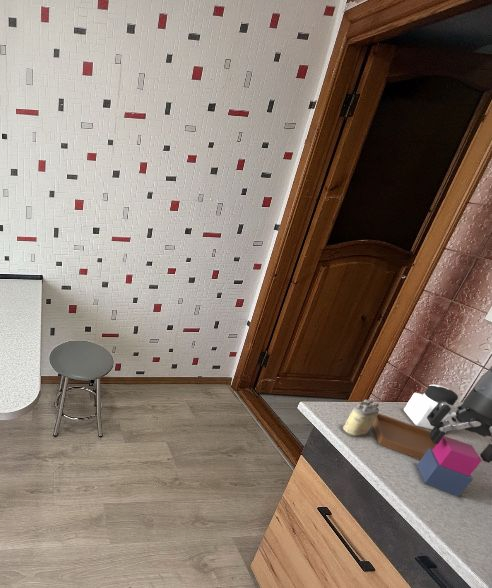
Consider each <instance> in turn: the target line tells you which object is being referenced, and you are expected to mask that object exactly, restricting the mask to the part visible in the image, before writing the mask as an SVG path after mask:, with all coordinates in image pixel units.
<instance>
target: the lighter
mask: <svg viewBox="0 0 492 588" xmlns="http://www.w3.org/2000/svg"><path fill="white" fill-rule="evenodd" d="M379 406H380V404H379V403H377V402H375V403H374V401H373V400H372V399H371V400H370V399H364V400H363V401H358V404H356V405H355V406H354V407H353V409H352V410H351V412H350V414H349V416H348V417H347V419H346V421H345V424H343V426H342V429H343V431H344V432H345V433H347V434H348V435H350V436H354V437H357V436H361V437H363V436H364V435H366V434H368V432H369V430H370V429H371V427H372V426H373V422H374V420H375V419H376V417H377V415H378V413H379V412H380V409H379V408H378V407H379Z"/></svg>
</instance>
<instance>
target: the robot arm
mask: <svg viewBox="0 0 492 588" xmlns="http://www.w3.org/2000/svg"><path fill="white" fill-rule="evenodd" d="M452 412H455V413H456V415H453V416H449V417H447V418H446V419H443V418H444V417H445V416H446V415H447V414H448V415H450V414H451V413H452ZM427 419H428V421H429V422H430V425H432V426H434V428H433V429H432V430H430V431H431V432H430V433H429V436H430V438H431V440H432V442H433V443H435V444H438V443H439V442H440V441H441V439H442V438H443V437H444V436H445V435H446V434H447V432H449V431H450V432H451V431H461V430H465V431H466V432H470V433H474V434H475V433H476V434H478V435H479V436H482V437H489V439H490V441H491V443H488V444H487V445H486V447H485V448H484V449H483V451H482V452H481V453H480V454H479V455H480V456H479V457H480V459H481V460H482V462H485V463H488V464H489V463H491V462H492V365H490V367H489V368H488V369H487V370H486V372H484V373H483V374H482V375H481V377H480V378H479V379H478V381H477V382H476V383H475V385H474V386H473V387H472V389H471V390H470V391H469V392H468V394H467V395H466V396H465V398H464V400H463V401H462V404H461V405H459V406H455V405H453V406H452V405H450V404H448V403H447V402H446V401H444V400H441V401H440V402H439V403H438V404H437V405H436V406H435V408H434V409H433V410H432V411H431V412H430V414H429V415H428V416H427ZM442 419H443V420H442ZM445 432H446V433H445Z"/></svg>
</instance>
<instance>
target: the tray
mask: <svg viewBox="0 0 492 588" xmlns="http://www.w3.org/2000/svg"><path fill="white" fill-rule="evenodd" d="M372 427H373V430H374V433H375V436H376V440H377V442H378V445H379V446H384V447H386V448H387V449H388V448H389V449H391V450H393V451H395V452H399V453H401V454H404V455H407V456H409V457H412V458H415V459H418V460H419V461H420V460H421V459H422V457H423V456H424V454H425V453H426V451H427V450H428V449H429V448H430V449H432V450H433V449H434V447H435V446H436V445H437V444H435V443H433V442H432V440H431V438H430V436H429V433H430V432H431V431H432V430H429V429H426V428H423V427H419V426H416V425H415V424H414V425H413V424H411V423H408V422H405V421H402V420H399V419H397V418H393V417H391V416H387V415H385V414H381V413H379V412H378V415H377V417H376V419H375V420H374V422H373V424H372Z"/></svg>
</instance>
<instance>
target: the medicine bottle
mask: <svg viewBox="0 0 492 588" xmlns="http://www.w3.org/2000/svg"><path fill="white" fill-rule="evenodd" d="M458 399H459V396H458V394H457V393H456V392H455V391H453V390H452V389H450V388H448V387H445V386H443V385H439V384H435V383H434V384H429V385H428V386H427V388H426V389H425V391H424V393H418V392H414V393H413V394H412V395H411V397H410V398H409V400H408V401H407V403H406V405H405V406H404V408H403V411H404V412H405V414H406V415H407V416H408V418H409V419H410V420H411V421H412V423H414V426H417V427H420V428H423V429H426V430H430V431H432V429H433V428H434V426H432V425H430V422H429V421H428V419H427V416H428V415H429V414H430V412H431V411H432V410H433V409H434V408H435V406H436V405H437V404H438V403H439V402H440V401H441V400H444V401H446V402H447V403H448V404H450V405H452V406H455V403H456V402H457V400H458ZM453 415H456V413H455V412H452V413H451V414H450V415H448V414H447V415H446V416H445V417H444V418H443V419H446V418H447V417H449V416H453ZM443 419H442V420H443ZM445 433H446V434H447V431H446V432H445Z"/></svg>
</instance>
